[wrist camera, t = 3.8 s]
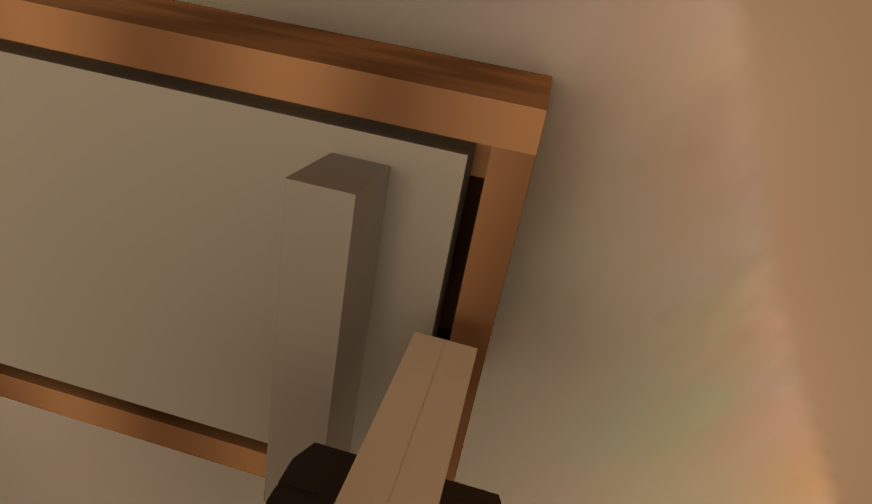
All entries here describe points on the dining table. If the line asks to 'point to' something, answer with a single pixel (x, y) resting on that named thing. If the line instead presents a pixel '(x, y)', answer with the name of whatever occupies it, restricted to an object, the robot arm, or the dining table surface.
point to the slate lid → (217, 247)
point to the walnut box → (326, 89)
